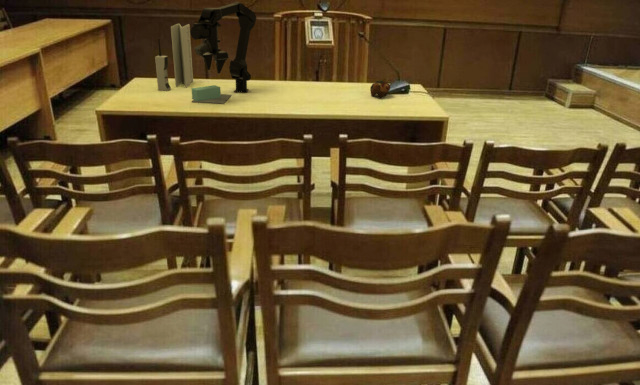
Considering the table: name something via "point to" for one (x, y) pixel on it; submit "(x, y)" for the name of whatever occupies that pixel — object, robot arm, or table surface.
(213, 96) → the teal block
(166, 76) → the vintage mobile phone
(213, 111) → the table surface
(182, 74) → the brochure
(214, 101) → the rubber mat
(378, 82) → the decorative turtle
